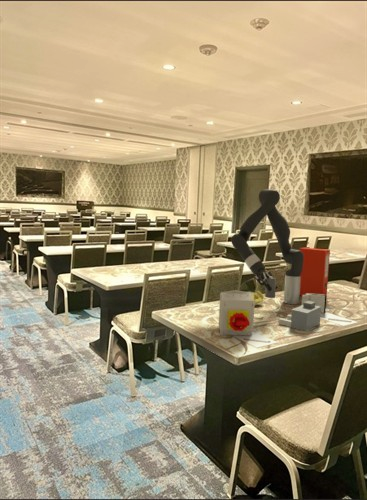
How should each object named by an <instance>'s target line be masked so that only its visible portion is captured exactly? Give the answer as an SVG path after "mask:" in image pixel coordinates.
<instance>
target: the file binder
mask: <svg viewBox="0 0 367 500" xmlns="http://www.w3.org/2000/svg"><path fill="white" fill-rule="evenodd" d="M299 250H300V251H302V253H303V256H304V260H303V269H302V272H301V282H300V297H302V295H306V293H308V294H323V295H326V296H328V295H327V293H328V283H329V281H328V279H329V267H330V255H331V254H330V252H331V249H325V248H313V247H312V248H311V247H299Z"/></svg>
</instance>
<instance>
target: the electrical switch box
mask: <svg viewBox="0 0 367 500" xmlns="http://www.w3.org/2000/svg"><path fill="white" fill-rule="evenodd" d="M251 294H252V293H251V292H247V291H242V290H237V289H235V290H229V291H227V290H226V291H221V292H220V293H219V309H218V310H219V312H218V329H219V332H220V335H222V336H252V335H253V331H254V320H255V306H254V299H253V297H252V295H251Z"/></svg>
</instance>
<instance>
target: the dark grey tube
mask: <svg viewBox="0 0 367 500" xmlns="http://www.w3.org/2000/svg"><path fill="white" fill-rule="evenodd" d="M273 277H274V275H273V276H270V277H267V278H266V279H267V282H268V284H269V285H270V287H271V288H272V290H271V291H270V292H269V291H268V290H267V288H266V287H265V288H264V289H265V290H264V291H265V292H264V293H265V294H264V298H268V299H275V298H276V291H277V289H276V285H277V278H276V277H274V278H273Z"/></svg>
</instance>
